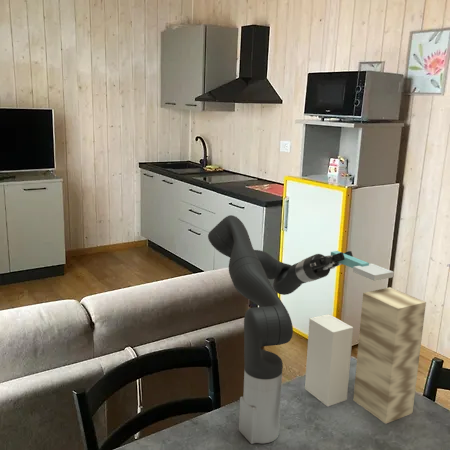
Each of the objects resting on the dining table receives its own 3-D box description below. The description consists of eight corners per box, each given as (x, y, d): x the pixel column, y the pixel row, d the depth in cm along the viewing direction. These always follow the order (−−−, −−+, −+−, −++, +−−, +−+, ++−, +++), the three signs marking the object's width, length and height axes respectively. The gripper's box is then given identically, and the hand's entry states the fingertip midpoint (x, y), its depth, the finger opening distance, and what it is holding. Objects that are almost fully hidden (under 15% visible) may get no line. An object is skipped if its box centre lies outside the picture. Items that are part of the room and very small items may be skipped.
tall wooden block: (385, 423, 130) (398, 308, 123) (353, 400, 140) (363, 292, 133) (412, 413, 135) (426, 302, 128) (379, 391, 145) (390, 287, 138)
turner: (374, 280, 131) (375, 272, 131) (324, 259, 148) (325, 252, 148) (393, 277, 134) (394, 269, 134) (342, 257, 151) (343, 250, 151)
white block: (327, 406, 137) (333, 332, 132) (304, 388, 145) (309, 318, 140) (346, 400, 140) (353, 327, 135) (323, 382, 149) (328, 314, 144)
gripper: (291, 259, 157) (325, 245, 142) (326, 254, 163) (361, 240, 149) (297, 283, 155) (332, 270, 140) (332, 277, 162) (368, 264, 147)
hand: (347, 255), depth 144 cm, fingers closed on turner, 2 cm apart
